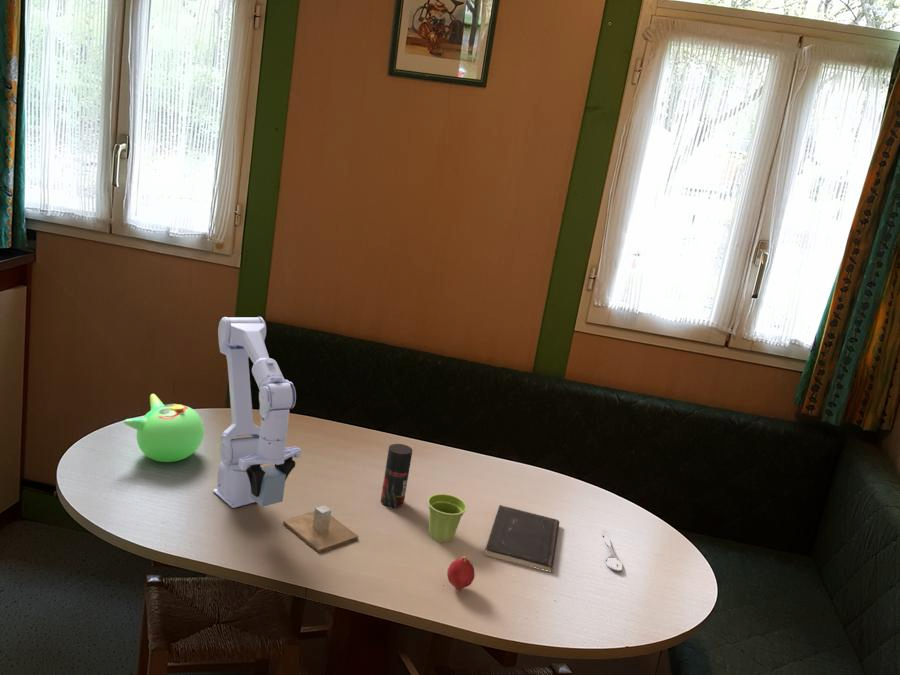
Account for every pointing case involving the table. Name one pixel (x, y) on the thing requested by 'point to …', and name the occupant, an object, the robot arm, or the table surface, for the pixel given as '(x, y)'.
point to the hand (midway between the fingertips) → (266, 491)
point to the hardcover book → (523, 538)
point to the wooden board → (320, 529)
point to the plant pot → (444, 516)
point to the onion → (461, 573)
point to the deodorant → (396, 475)
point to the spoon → (613, 557)
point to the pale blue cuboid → (271, 487)
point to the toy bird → (168, 431)
